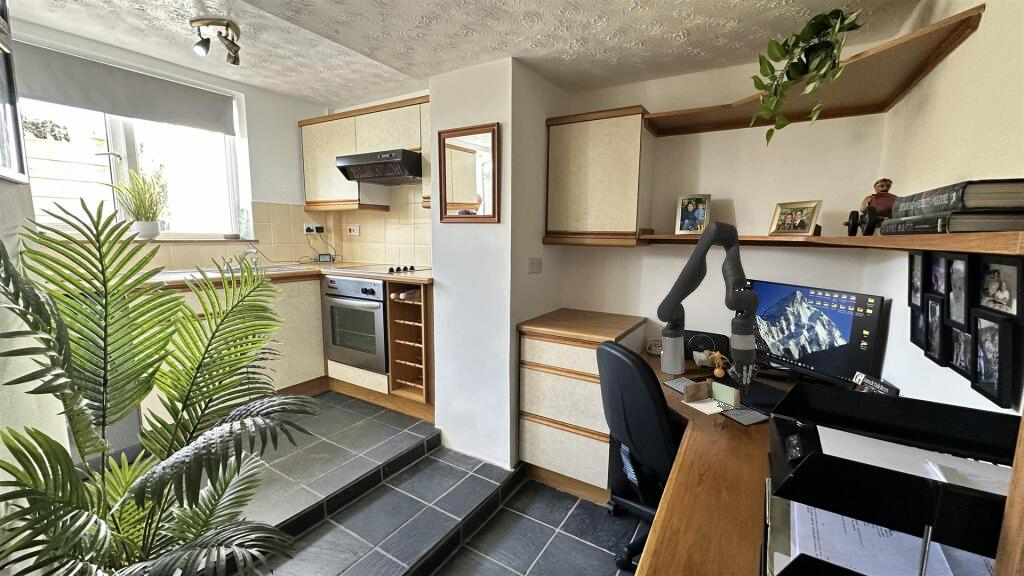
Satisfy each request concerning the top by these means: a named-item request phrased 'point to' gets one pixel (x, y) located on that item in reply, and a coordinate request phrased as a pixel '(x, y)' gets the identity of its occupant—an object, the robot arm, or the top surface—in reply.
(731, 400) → the panel
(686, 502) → the top surface
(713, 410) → the card
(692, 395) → the fence post and fixed panel
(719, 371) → the figurine
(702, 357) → the ceramic sculpture
